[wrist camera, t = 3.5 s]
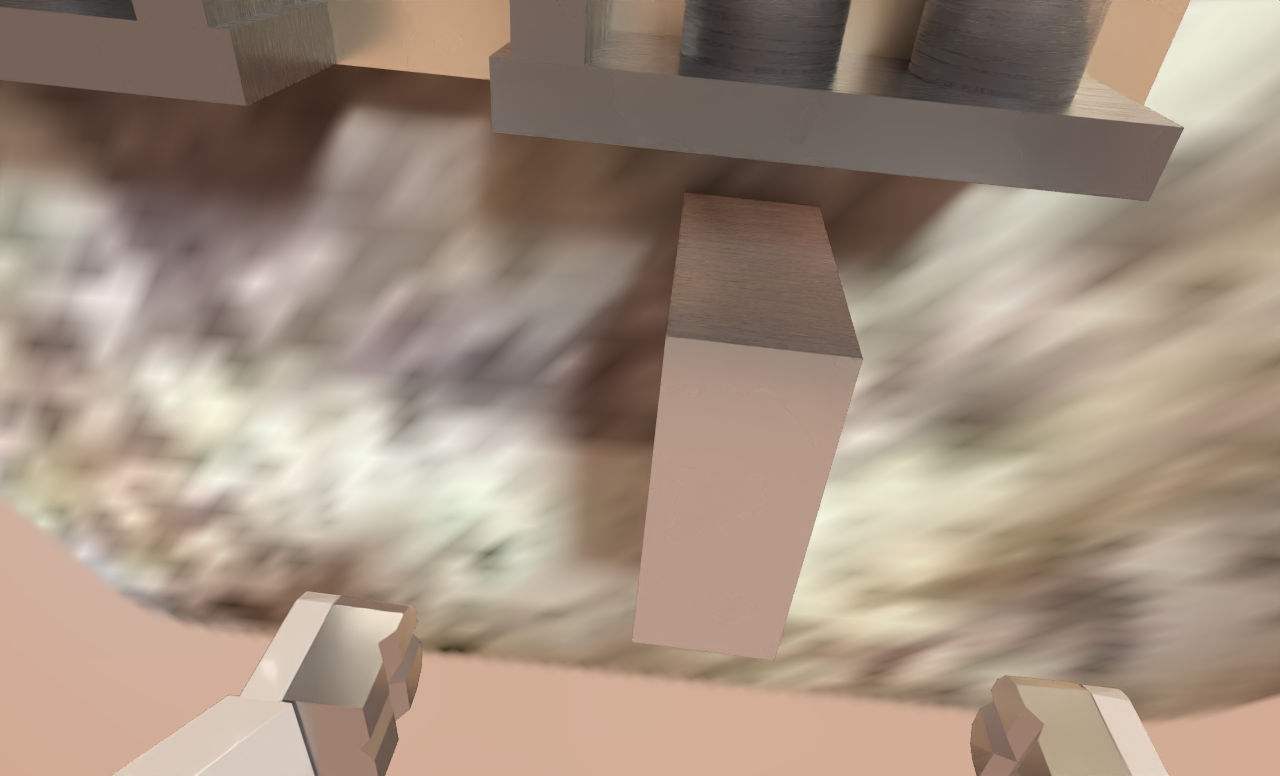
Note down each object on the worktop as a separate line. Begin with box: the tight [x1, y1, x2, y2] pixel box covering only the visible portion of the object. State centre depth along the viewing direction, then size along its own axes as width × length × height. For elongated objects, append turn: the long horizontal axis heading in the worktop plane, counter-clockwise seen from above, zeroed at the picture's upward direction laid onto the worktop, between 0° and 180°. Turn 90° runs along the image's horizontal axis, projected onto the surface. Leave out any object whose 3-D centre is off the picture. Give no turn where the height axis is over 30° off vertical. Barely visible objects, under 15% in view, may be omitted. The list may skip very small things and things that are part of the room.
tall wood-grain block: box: [632, 192, 863, 660], centre depth 15 cm, size 3×7×6 cm, turn 176°
